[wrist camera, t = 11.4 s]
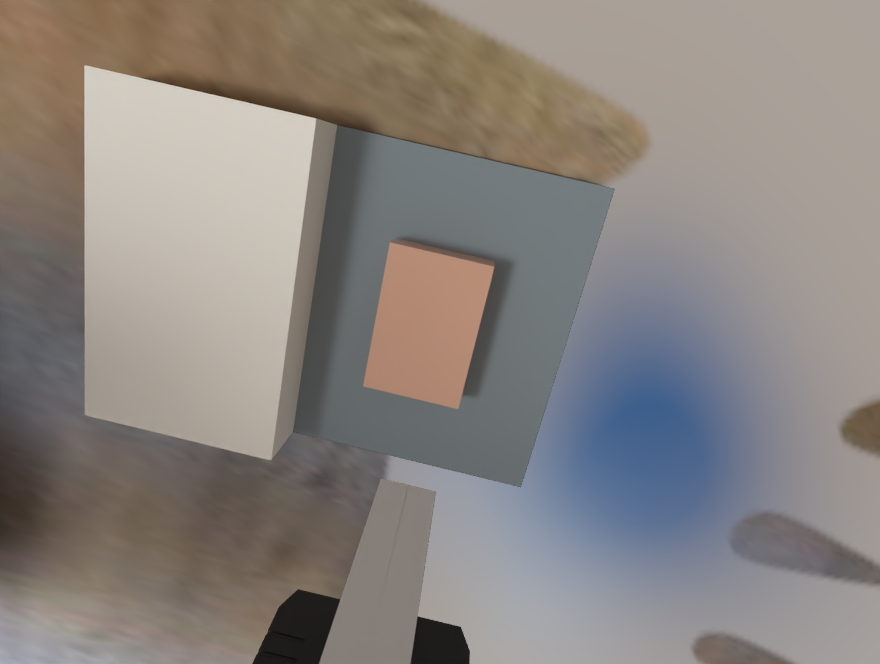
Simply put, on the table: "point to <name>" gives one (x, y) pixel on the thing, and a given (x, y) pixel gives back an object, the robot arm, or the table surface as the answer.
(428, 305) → the tile
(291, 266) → the plate
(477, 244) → the mat
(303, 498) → the table surface
